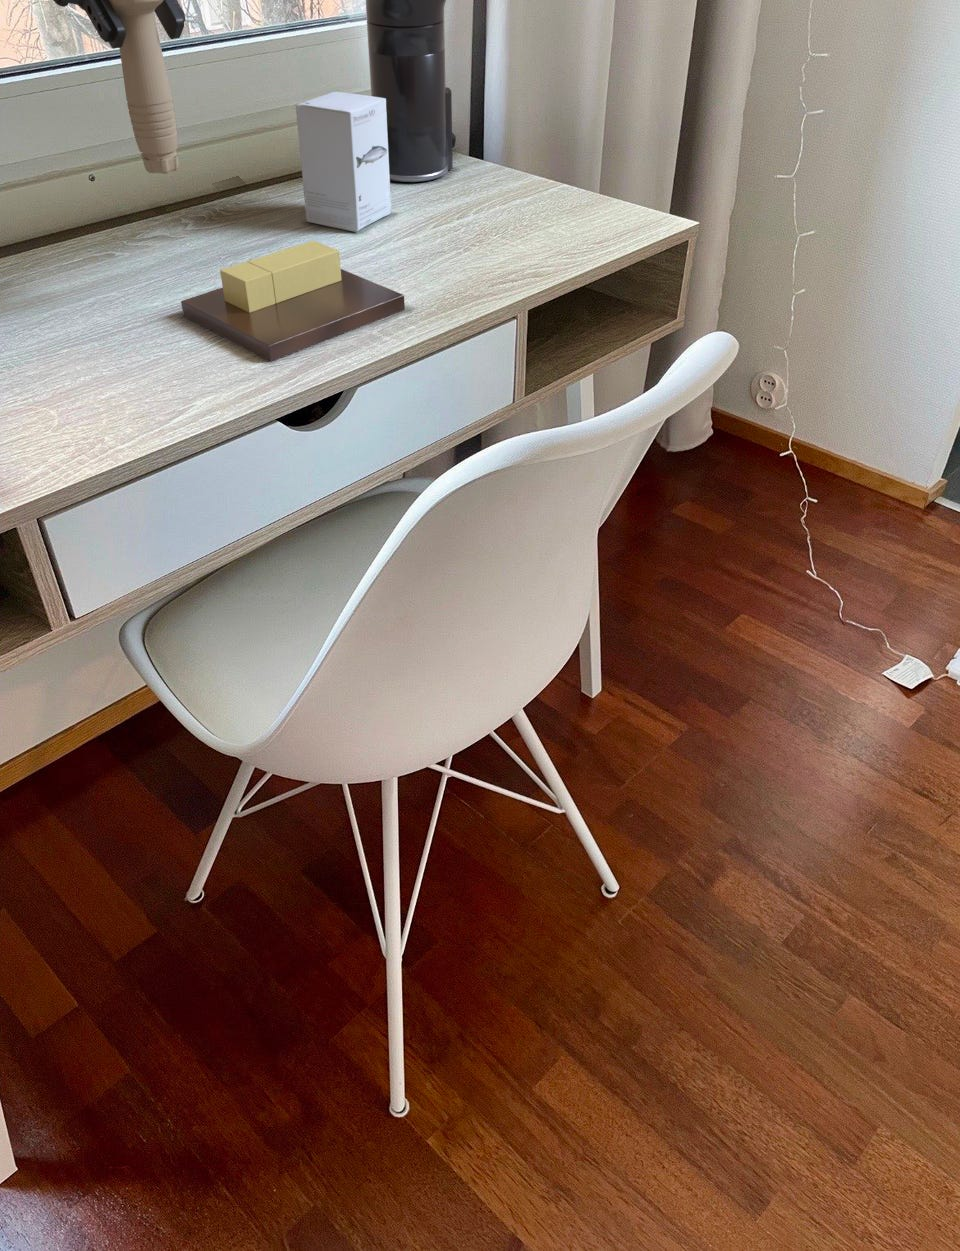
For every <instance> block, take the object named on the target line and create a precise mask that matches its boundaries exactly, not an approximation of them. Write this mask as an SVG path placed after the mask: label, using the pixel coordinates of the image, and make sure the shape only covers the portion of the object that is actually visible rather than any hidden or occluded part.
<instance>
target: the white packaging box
mask: <svg viewBox="0 0 960 1251" xmlns="http://www.w3.org/2000/svg"><path fill="white" fill-rule="evenodd" d="M295 115H296V124H297V134H298V135H297V136H298V146H299V155H300V166H301V175H302V186H303V196H304V207H305V208H304V209H305V217H306V222H308V223H311V224H316V225H320V226H325V227H330V228H334V229H340V230H344V231H349V232H355V233H358V232H359V231H360V230H362V229H364V228H366V227H367V226H369V225H371V224H373V223H374V222H377V221H378V220H380V219H383V218H385V217H387V216H389V215H390V214H392V203H391V202H392V201H391V200H392V199H391V180H390V176H389V155H388V134H387V113H386V99H385V98H380V97H373V96H371V95H365V94H357V93H350V92H341V91H332V92H329V93H326V94H324V95H320V96H317V97H315V98H312V99H308V100H306V101H303V102H301V103H297V104H296V105H295Z"/></svg>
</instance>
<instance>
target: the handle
mask: <svg viewBox="0 0 960 1251" xmlns="http://www.w3.org/2000/svg"><path fill="white" fill-rule="evenodd" d="M163 1H164V0H109V2H110V3H111V5H112V7H113V8H114V10H115V12H116V14H117V15H118V17H119V19H120V21H121V22H122V24H123V26H124V28H125V31H126V36H125V39H124V43H123V46H122V47H120V48H119V55H120V61H121V68H122V76H123V83H124V84H123V85H124V93H125V99H126V102H127V103H126V104H127V109H128V114H129V120H130V124H131V126H132V127H131V128H132V131H133V134H134V139H135V142H136V145H137V148H138V150H139V152H140V153H141V154H140V155H141V159H142V162H143V166H144V169H145V171H146V172H147V173H149V174H163V175H165V174H168V173H171V172H176V171H178V169H179V167H180V166H179V165H180V164H179V161H180V160H179V155H178V153H177V150H178V131H177V124H176V122H177V120H176V113H175V108H174V107H175V105H174V100H173V94H172V91H171V87H170V82H169V77H168V73H167V68H166V64H165V60H164V55H163V50H162V45H161V41H160V36H159V32H158V31H159V30H158V27H157V21H156V13H155V12H154V11H155V8H156V7H157V6H158V5H160V4H161V3H162V2H163Z"/></svg>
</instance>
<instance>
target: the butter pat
mask: <svg viewBox="0 0 960 1251" xmlns="http://www.w3.org/2000/svg"><path fill="white" fill-rule="evenodd" d="M219 274H220V279H221V286H222V287H223V292H224V298H225V301H226V302H228V303H230V304H232V305H234V306H236V307H238V308H241V309H243V310H245V311H247V312H249V313H251V312H254V311H256V310H259V309H262V308H265V307H268V306H271V305H274V304H275V296H274V289H273V281H272V273H271V272H268V271H266V270H264V269H262V268H259V267H257V266H255V265H253V264H250V263H248V262H247V261H243V262H241V263H238V264H234V265H232V266H228V267H224V268H222V269H219Z"/></svg>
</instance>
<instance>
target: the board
mask: <svg viewBox="0 0 960 1251" xmlns="http://www.w3.org/2000/svg"><path fill="white" fill-rule="evenodd" d="M340 269H341V281H339V282H336V283H333V284H330V285H327V286H325V287H322V288H319V289H316V290H313V291H310V292H308V293H305V294H302V295H299V296H296V297H293V298H290V299H288V300H285V301H282V302H279V303H275V304H274V305H271V306H268V307H265V308H262V309H259V310H256V311H254V312H251V313H249V312H247V311H245V310H243V309H241V308H238V307H236V306H234V305H232V304H230V303H228V302H226V301H225V298H224V292H223V286H222V287H220V288H217V289H213V290H211V291H207V292H204V293H202V294H201V293H200V294H198V295H195V296H192V297H188V298H185V299H182V300H180V304H181V310H182V315H183V317H185V318H187V319H189V320H191V321H192V322H194V323H197V324H198V325H201V326H203V327H204V328H206V329H208V330H210V331H212V332H214V333H216V334H217V335H219V336H222V337H223V338H226V339H227V340H229V341H231V342H233V343H235V344H237V345H239V346H241V347H242V348H244V349H246V350H248V351H250V352H252V353H254V354H256V355H258V356H259V357H262V358H263V359H266V360H267V361H269V362H273V361H276V360H278V359H281V358H284V357H286V356H289V355H291V354H294V353H296V352H300V351H302V350H304V349H307V348H309V347H312V346H315V345H317V344H319V343H320V344H321V343H323V342H325V341H328V340H330V339H333V338H335V337H338V336H340V335H343V334H346V333H348V332H351V331H353V330H356V329H358V328H362V327H364V326H366V325H369V324H371V323H374V322H376V321H377V322H378V321H379V320H382V319H384V318H387V317H390V316H392V315H395V314H398V313H400V312H403V311H405V310H406V308H405V307H406V306H405V303H406V302H405V294H403V293H400V292H398V291H396V290H393V289H391V288H388V287H386V286H383V285H381V284H379V283H376V282H374V281H371V280H369V279H367V278H364V277H362V276H360V275H357V274H354V273H353V272H349V271H347V270H345V269H342V268H340Z"/></svg>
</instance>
